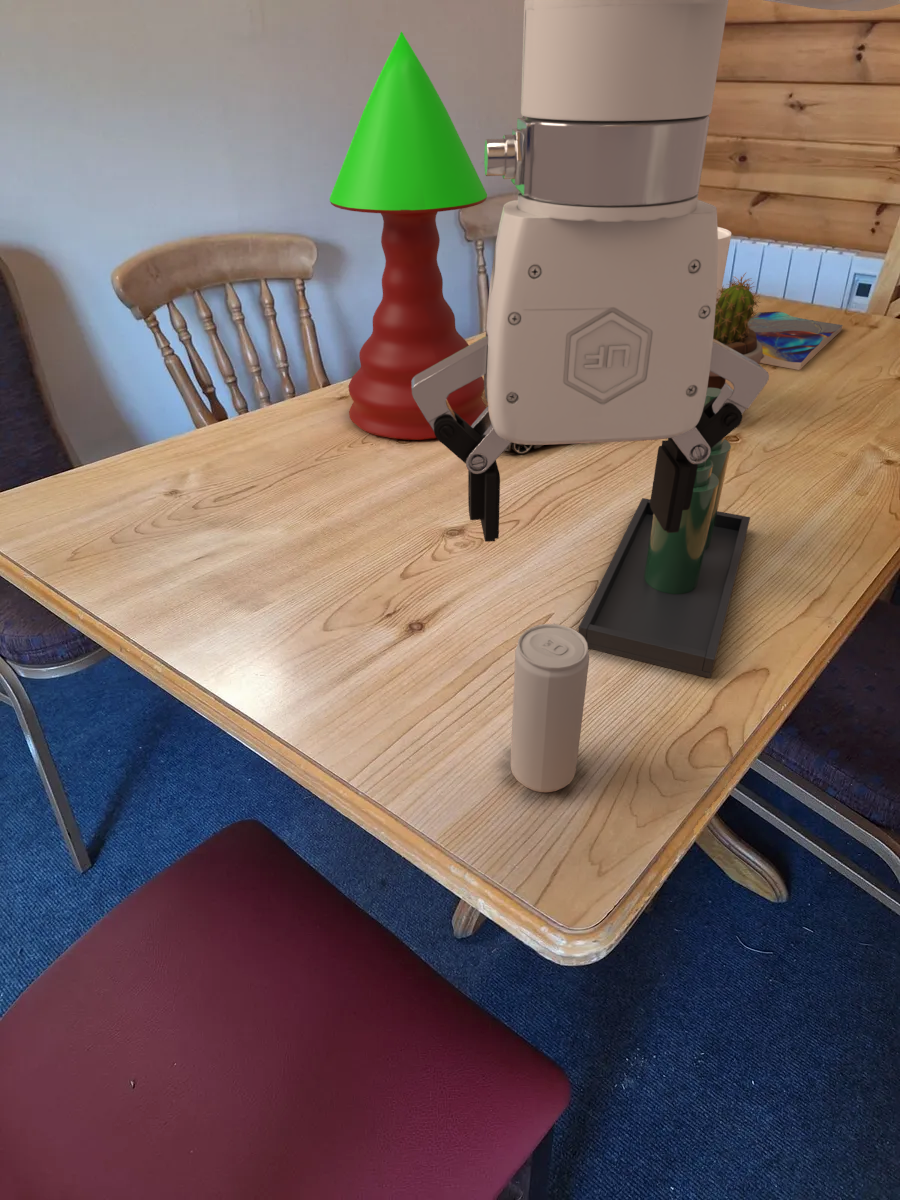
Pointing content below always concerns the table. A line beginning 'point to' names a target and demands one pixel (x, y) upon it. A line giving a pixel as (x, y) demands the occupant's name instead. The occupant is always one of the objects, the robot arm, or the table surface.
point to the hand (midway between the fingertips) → (576, 524)
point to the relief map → (790, 338)
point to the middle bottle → (683, 540)
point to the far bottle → (717, 464)
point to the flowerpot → (735, 324)
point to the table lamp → (407, 243)
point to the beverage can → (548, 706)
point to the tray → (665, 601)
